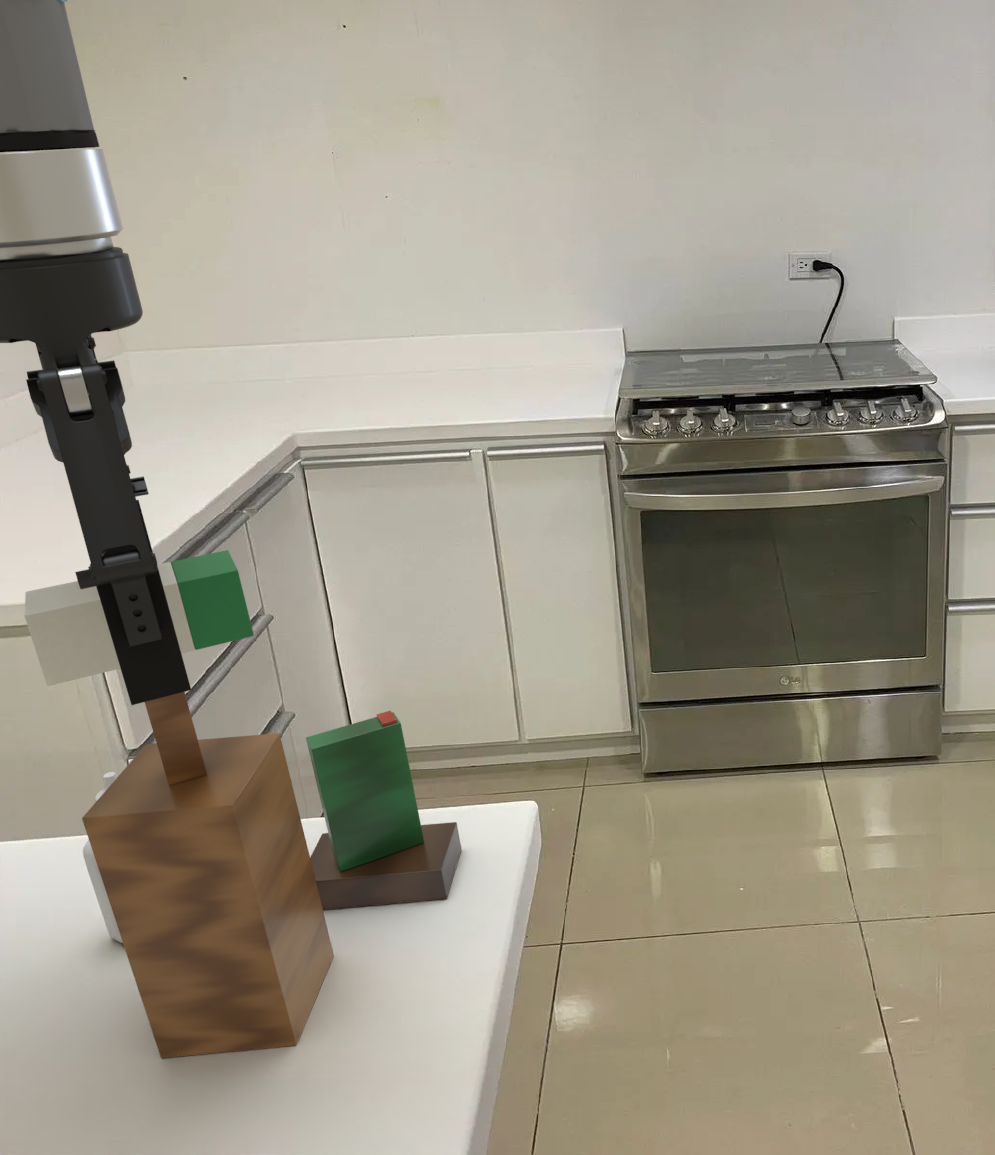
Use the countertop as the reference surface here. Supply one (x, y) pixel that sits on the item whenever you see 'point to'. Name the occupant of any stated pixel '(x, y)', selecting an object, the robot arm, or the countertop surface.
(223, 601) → the white green block
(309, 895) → the stand
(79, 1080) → the countertop surface
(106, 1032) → the countertop surface
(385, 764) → the green carton
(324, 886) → the dark brown block
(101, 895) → the eye dropper bottle
